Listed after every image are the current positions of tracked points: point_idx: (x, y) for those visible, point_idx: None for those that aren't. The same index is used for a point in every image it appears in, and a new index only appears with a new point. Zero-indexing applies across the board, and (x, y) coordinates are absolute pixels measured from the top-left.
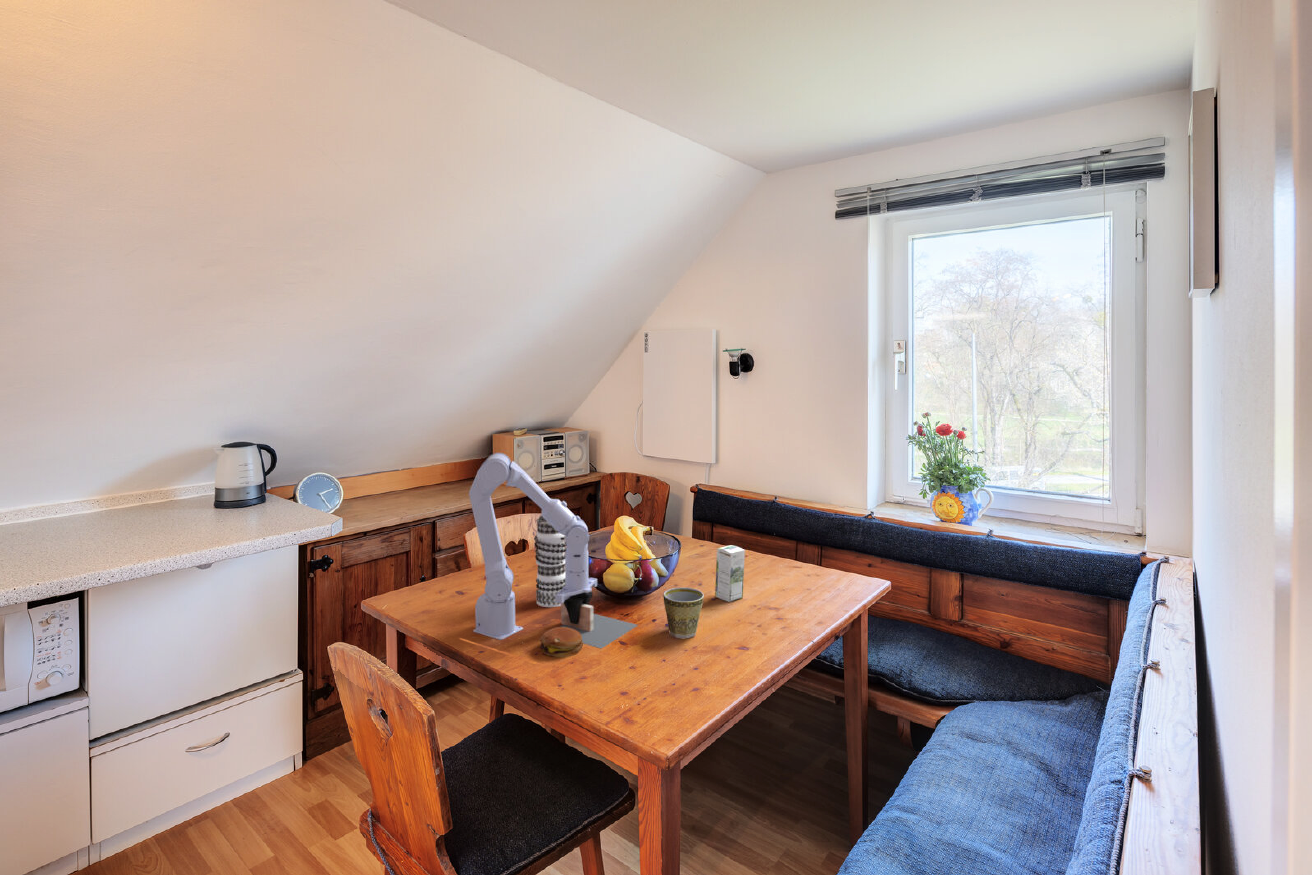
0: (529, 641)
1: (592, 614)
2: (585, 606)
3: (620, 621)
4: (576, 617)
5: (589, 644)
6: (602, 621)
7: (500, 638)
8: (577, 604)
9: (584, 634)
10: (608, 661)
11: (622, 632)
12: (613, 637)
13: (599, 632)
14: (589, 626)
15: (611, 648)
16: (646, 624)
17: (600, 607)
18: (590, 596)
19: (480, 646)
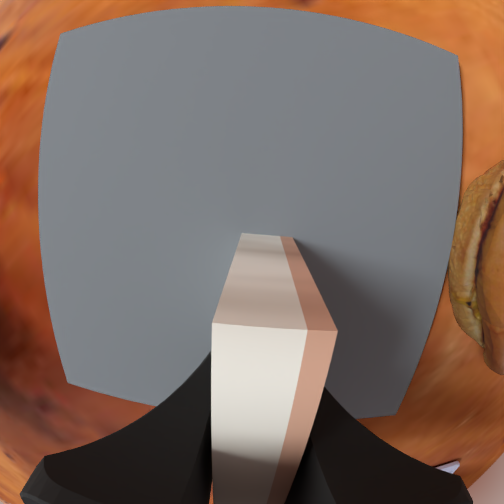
0: (458, 412)
1: (248, 274)
2: (291, 414)
3: (49, 144)
4: (323, 388)
5: (458, 136)
6: (98, 248)
7: (457, 466)
8: (440, 471)
9: (353, 243)
10: (494, 13)
11: (191, 25)
12: (297, 34)
13: (270, 160)
14: (297, 247)
15: (408, 15)
16: (36, 31)
17: (4, 346)
18: (97, 485)
19: (482, 459)
